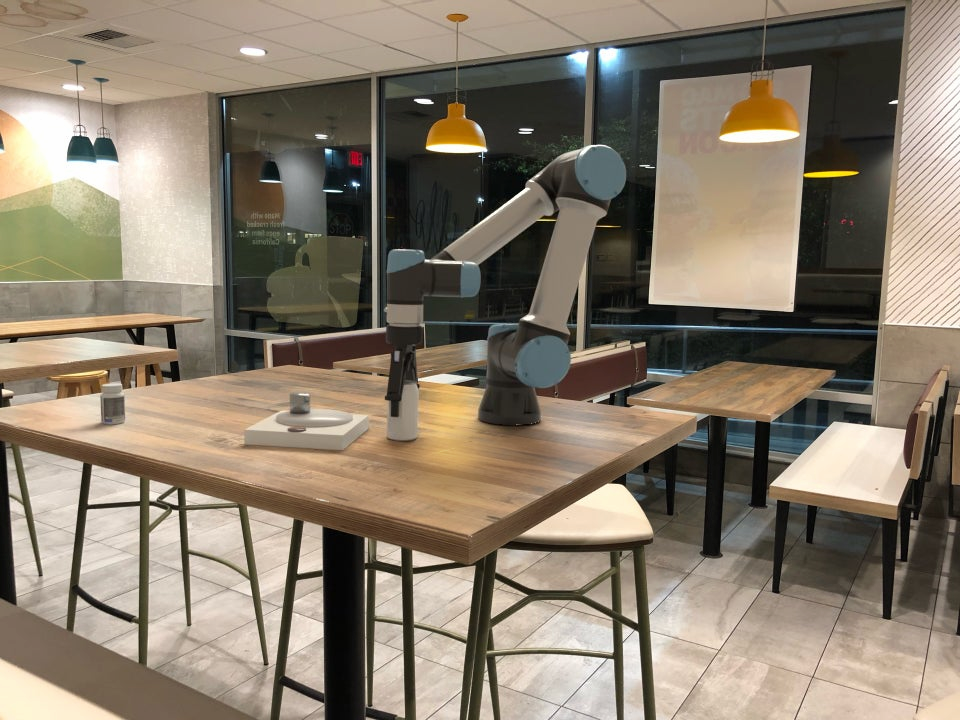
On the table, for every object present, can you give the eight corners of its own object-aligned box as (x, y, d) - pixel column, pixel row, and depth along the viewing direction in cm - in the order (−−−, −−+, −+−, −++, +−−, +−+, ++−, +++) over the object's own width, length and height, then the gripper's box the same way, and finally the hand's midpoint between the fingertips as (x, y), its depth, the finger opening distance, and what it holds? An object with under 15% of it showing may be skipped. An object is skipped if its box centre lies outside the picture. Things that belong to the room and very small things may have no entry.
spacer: (313, 410, 165) (313, 392, 164) (306, 414, 160) (306, 396, 160) (293, 409, 165) (293, 391, 165) (286, 413, 161) (286, 395, 160)
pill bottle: (130, 421, 164) (129, 384, 163) (111, 425, 160) (110, 387, 159) (115, 419, 166) (113, 382, 165) (96, 423, 162) (94, 384, 161)
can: (412, 442, 154) (413, 385, 152) (382, 440, 155) (383, 383, 153) (421, 435, 160) (422, 380, 158) (392, 433, 161) (393, 378, 160)
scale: (369, 427, 166) (370, 411, 166) (342, 450, 146) (343, 432, 145) (283, 422, 168) (283, 406, 168) (244, 444, 148) (244, 426, 147)
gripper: (399, 319, 167) (397, 412, 170) (371, 328, 142) (370, 437, 145) (432, 321, 166) (430, 414, 169) (410, 330, 142) (407, 439, 144)
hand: (402, 425), depth 157 cm, fingers open, 13 cm apart
